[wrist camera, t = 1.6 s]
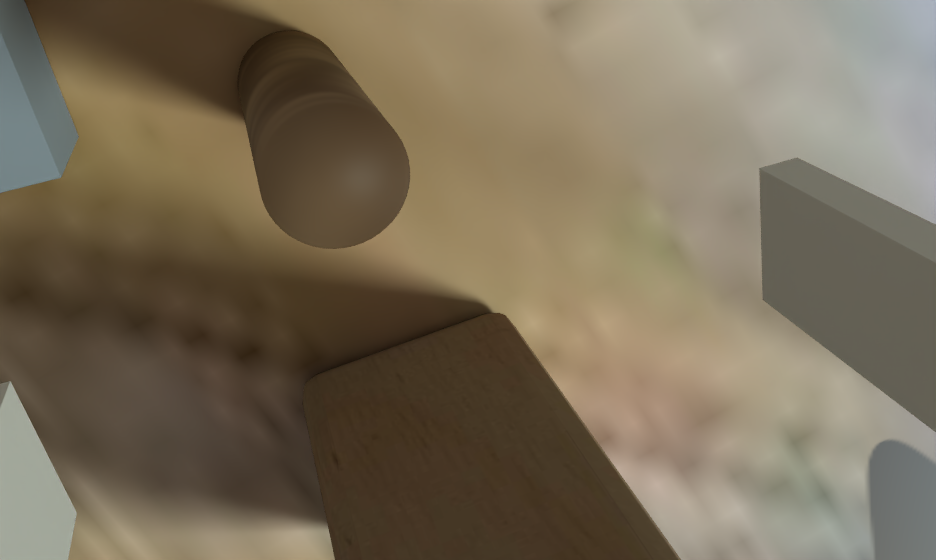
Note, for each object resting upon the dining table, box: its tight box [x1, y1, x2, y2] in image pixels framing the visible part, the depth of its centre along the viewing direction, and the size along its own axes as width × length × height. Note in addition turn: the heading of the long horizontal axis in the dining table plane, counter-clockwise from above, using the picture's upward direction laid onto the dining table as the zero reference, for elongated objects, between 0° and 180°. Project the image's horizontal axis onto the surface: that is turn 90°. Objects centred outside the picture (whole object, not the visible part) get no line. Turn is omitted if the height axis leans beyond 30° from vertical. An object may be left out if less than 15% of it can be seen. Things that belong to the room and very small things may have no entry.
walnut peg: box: [238, 31, 410, 249], centre depth 29 cm, size 4×4×12 cm
